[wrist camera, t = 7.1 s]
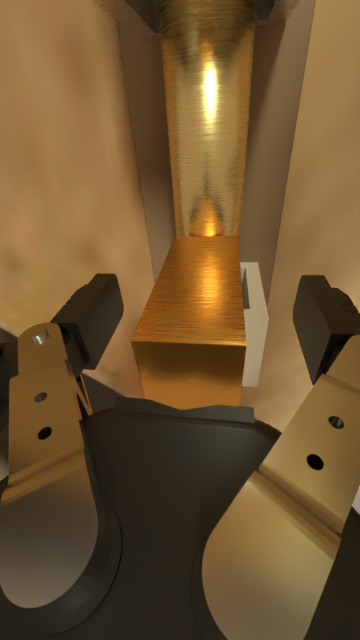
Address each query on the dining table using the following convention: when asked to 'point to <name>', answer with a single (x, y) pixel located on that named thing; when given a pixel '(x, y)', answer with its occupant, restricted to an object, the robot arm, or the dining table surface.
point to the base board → (262, 138)
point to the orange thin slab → (201, 208)
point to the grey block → (143, 16)
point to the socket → (253, 321)
